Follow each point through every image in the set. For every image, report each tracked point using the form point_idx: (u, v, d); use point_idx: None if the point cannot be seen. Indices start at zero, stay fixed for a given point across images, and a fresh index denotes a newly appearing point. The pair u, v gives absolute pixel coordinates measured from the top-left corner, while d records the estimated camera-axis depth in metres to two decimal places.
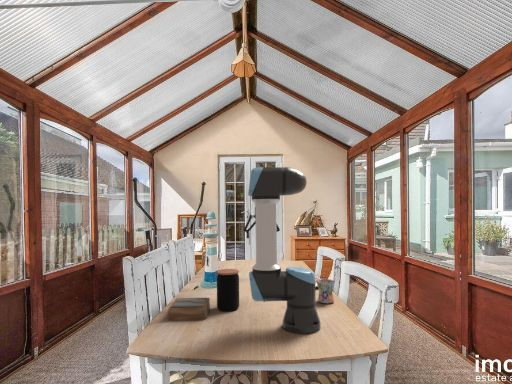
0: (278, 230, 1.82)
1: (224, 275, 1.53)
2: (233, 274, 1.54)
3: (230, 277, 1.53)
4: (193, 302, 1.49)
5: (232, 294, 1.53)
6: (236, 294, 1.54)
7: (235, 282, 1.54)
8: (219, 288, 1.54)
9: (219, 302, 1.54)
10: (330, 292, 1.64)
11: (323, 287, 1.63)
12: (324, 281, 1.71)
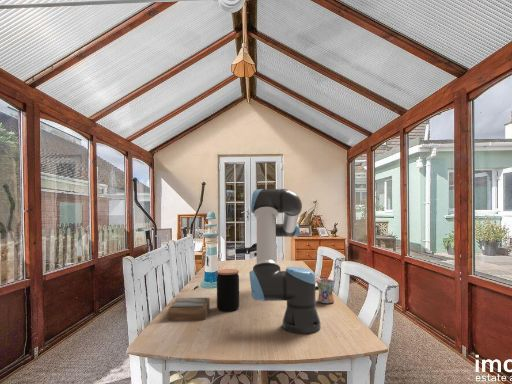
0: None
1: (224, 275, 1.53)
2: (233, 274, 1.54)
3: (230, 277, 1.53)
4: (193, 302, 1.49)
5: (232, 294, 1.53)
6: (236, 294, 1.54)
7: (235, 282, 1.54)
8: (219, 288, 1.54)
9: (219, 302, 1.54)
10: (330, 292, 1.64)
11: (323, 287, 1.63)
12: (324, 281, 1.71)
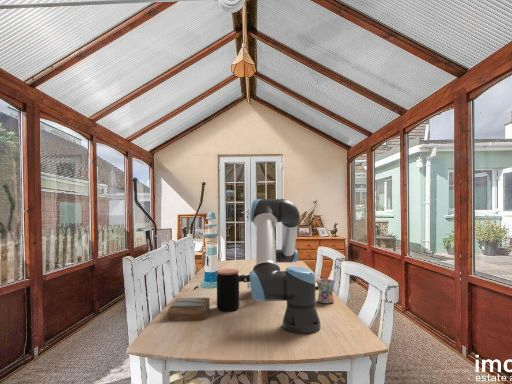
0: None
1: (224, 275, 1.53)
2: (233, 274, 1.54)
3: (230, 277, 1.53)
4: (193, 302, 1.49)
5: (232, 294, 1.53)
6: (236, 294, 1.54)
7: (235, 282, 1.54)
8: (219, 288, 1.54)
9: (219, 302, 1.54)
10: (330, 292, 1.64)
11: (323, 287, 1.63)
12: (324, 281, 1.71)
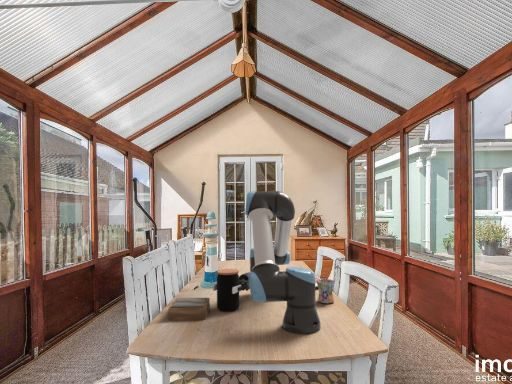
0: (246, 285, 1.57)
1: (224, 275, 1.53)
2: (233, 274, 1.54)
3: (230, 277, 1.53)
4: (193, 302, 1.49)
5: (232, 294, 1.53)
6: (236, 294, 1.54)
7: (235, 282, 1.54)
8: (219, 288, 1.54)
9: (219, 302, 1.54)
10: (330, 292, 1.64)
11: (323, 287, 1.63)
12: (324, 281, 1.71)
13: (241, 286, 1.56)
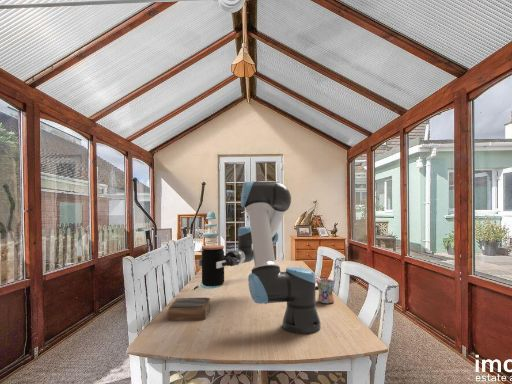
0: (231, 260, 1.56)
1: (208, 250, 1.52)
2: (217, 249, 1.53)
3: (214, 252, 1.52)
4: (193, 302, 1.49)
5: (216, 269, 1.52)
6: (220, 269, 1.53)
7: (220, 257, 1.53)
8: (203, 263, 1.53)
9: (203, 277, 1.53)
10: (330, 292, 1.64)
11: (323, 287, 1.63)
12: (324, 281, 1.71)
13: (226, 261, 1.55)
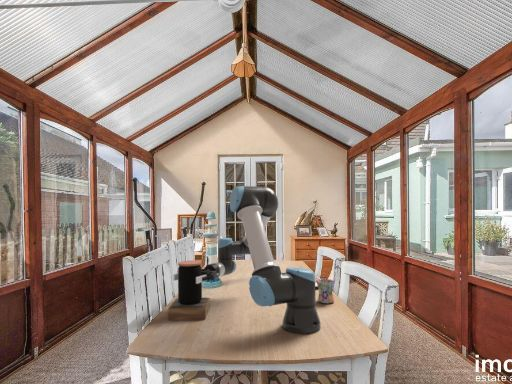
0: (211, 275, 1.50)
1: (185, 267, 1.46)
2: (194, 265, 1.47)
3: (191, 269, 1.46)
4: None
5: (193, 286, 1.46)
6: (197, 286, 1.47)
7: (197, 273, 1.47)
8: (180, 280, 1.47)
9: (180, 295, 1.47)
10: (330, 292, 1.64)
11: (323, 287, 1.63)
12: (324, 281, 1.71)
13: (206, 276, 1.49)
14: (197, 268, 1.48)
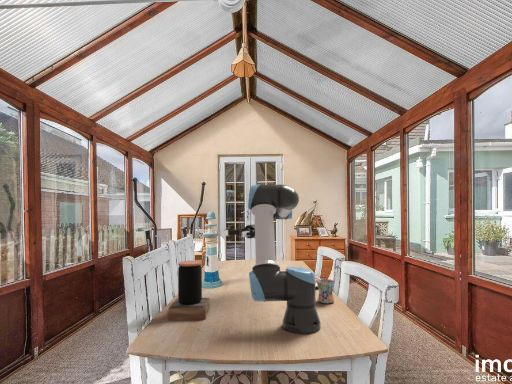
0: (254, 231, 1.68)
1: (185, 267, 1.46)
2: (194, 266, 1.47)
3: (191, 269, 1.46)
4: None
5: (193, 286, 1.46)
6: (197, 286, 1.47)
7: (197, 274, 1.47)
8: (180, 280, 1.47)
9: (180, 295, 1.47)
10: (330, 292, 1.64)
11: (323, 287, 1.63)
12: (324, 281, 1.71)
13: None
14: (197, 268, 1.48)
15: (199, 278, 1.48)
